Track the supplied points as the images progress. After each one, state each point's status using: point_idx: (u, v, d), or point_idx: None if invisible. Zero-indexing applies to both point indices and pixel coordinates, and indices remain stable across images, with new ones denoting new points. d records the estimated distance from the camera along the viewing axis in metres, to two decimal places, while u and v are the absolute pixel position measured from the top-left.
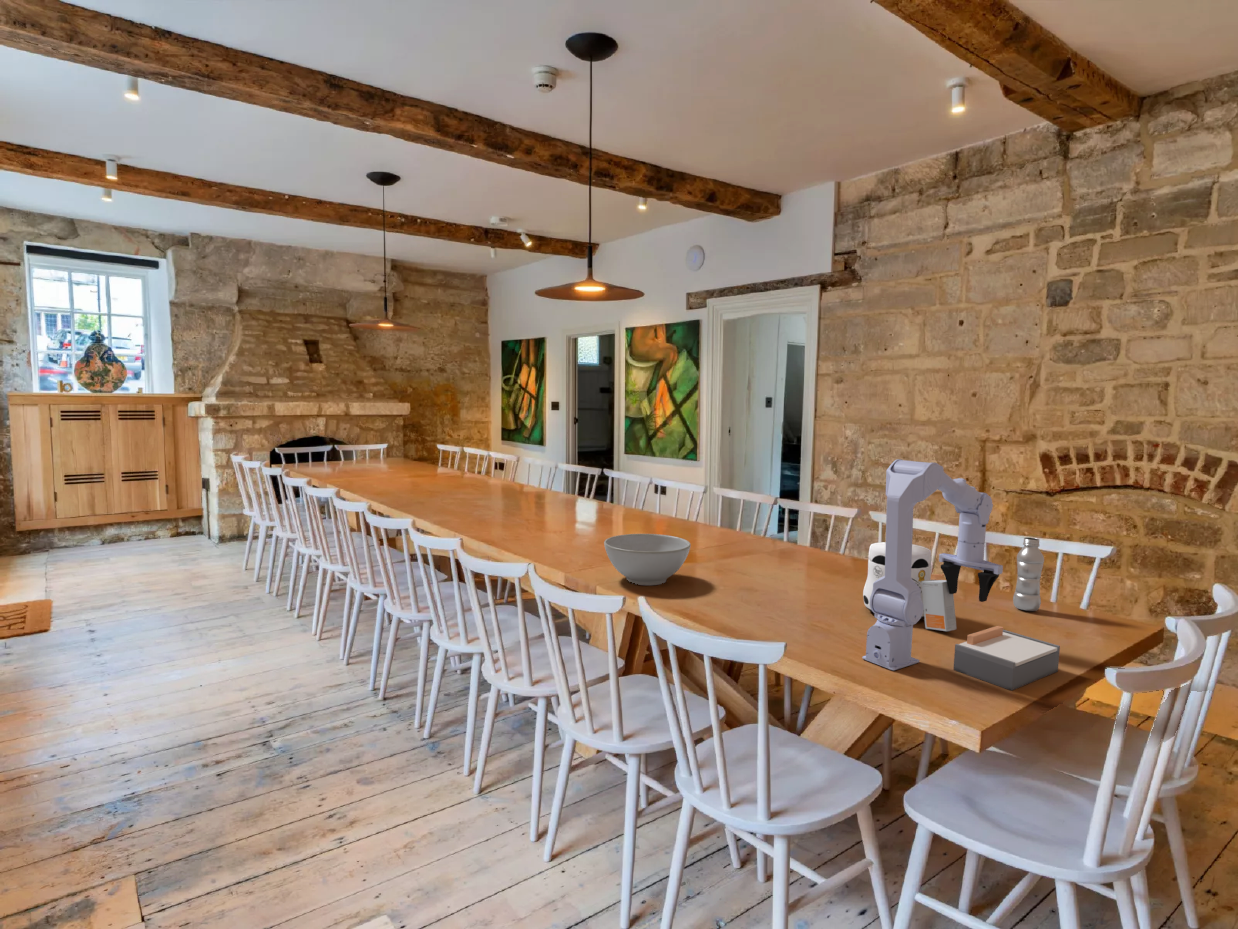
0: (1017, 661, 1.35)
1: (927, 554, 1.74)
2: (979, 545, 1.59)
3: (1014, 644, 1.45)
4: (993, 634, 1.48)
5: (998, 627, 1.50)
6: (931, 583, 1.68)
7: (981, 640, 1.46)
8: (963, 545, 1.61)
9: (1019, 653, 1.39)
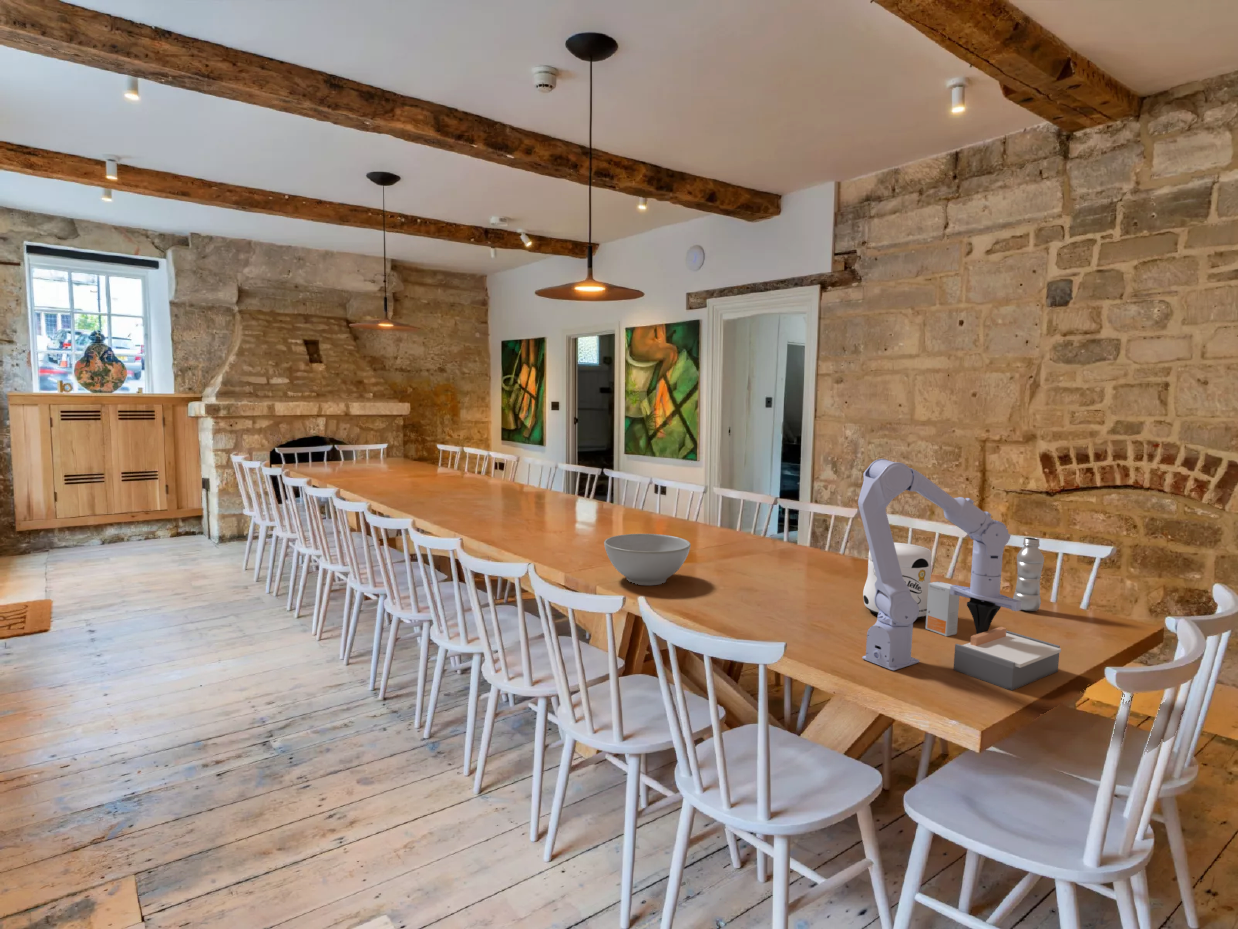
0: (1021, 662, 1.35)
1: (927, 554, 1.75)
2: (995, 578, 1.44)
3: (1018, 645, 1.44)
4: (996, 635, 1.48)
5: (1001, 628, 1.50)
6: (938, 587, 1.66)
7: (984, 641, 1.45)
8: (977, 578, 1.46)
9: (1023, 655, 1.39)
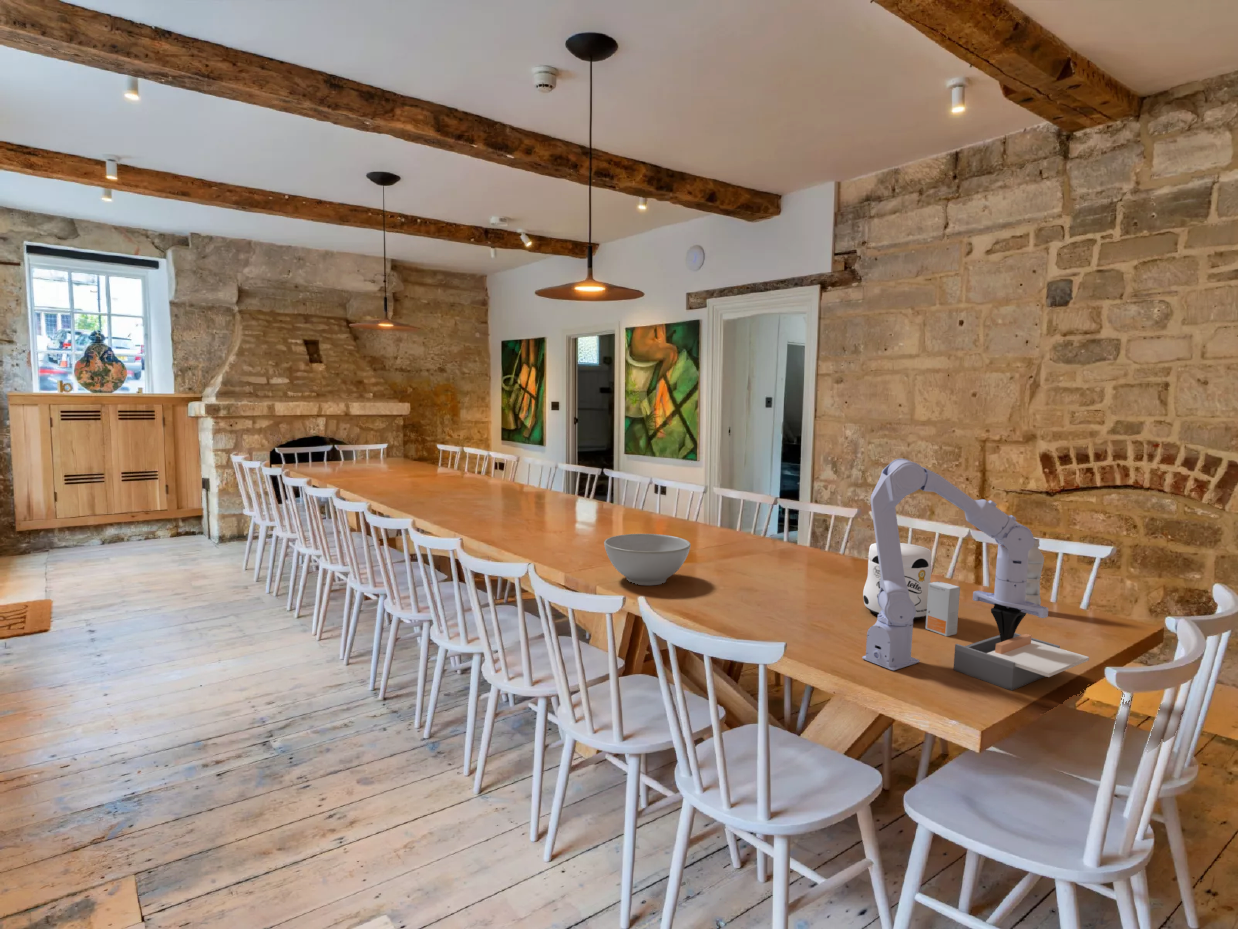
0: (1049, 671, 1.30)
1: (927, 554, 1.75)
2: (1021, 584, 1.40)
3: (1044, 653, 1.40)
4: (1021, 643, 1.43)
5: (1026, 635, 1.45)
6: (938, 587, 1.66)
7: (1010, 649, 1.41)
8: (1002, 583, 1.41)
9: (1050, 663, 1.34)
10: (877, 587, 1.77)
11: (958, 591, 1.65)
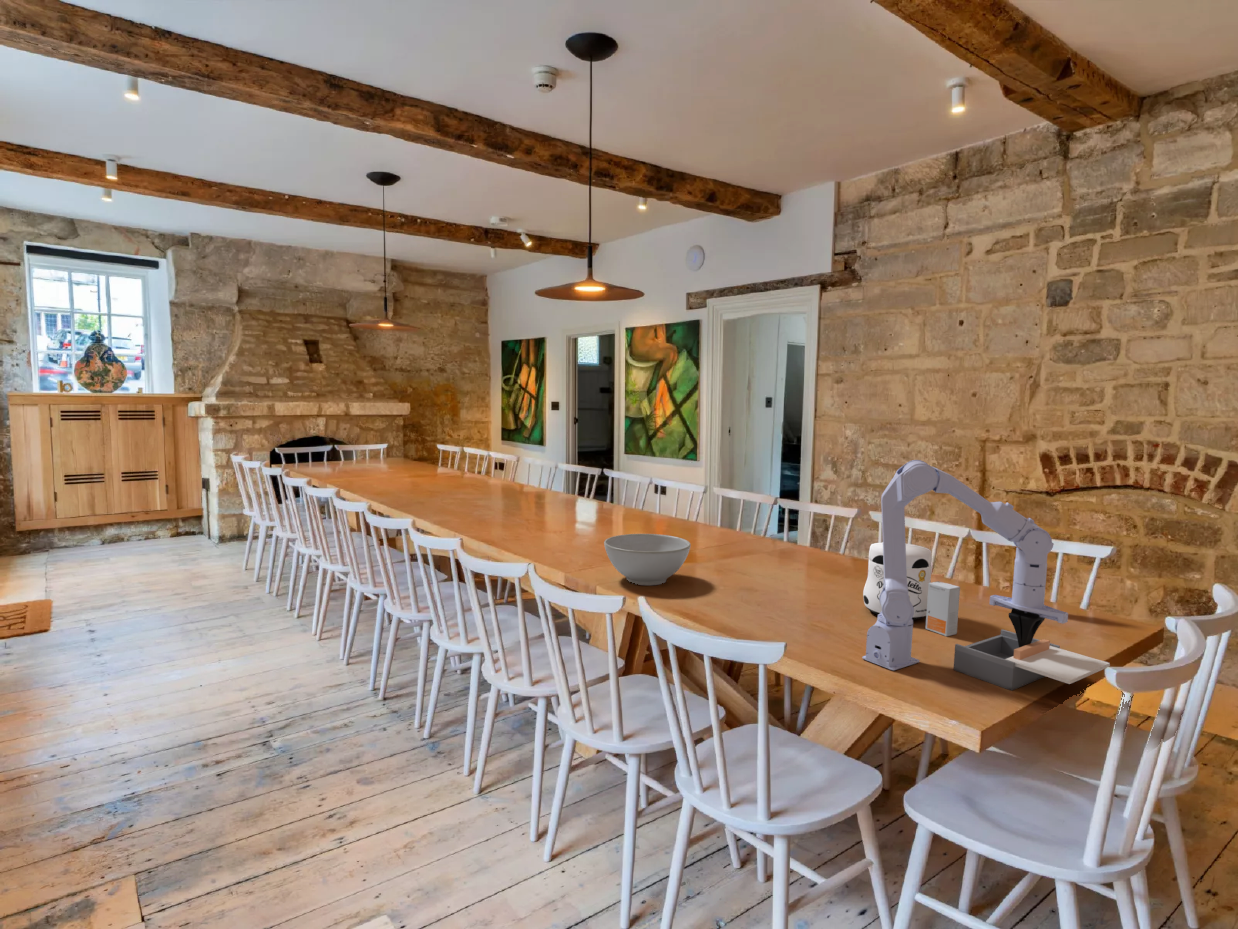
0: (1070, 678, 1.27)
1: (927, 554, 1.75)
2: (1039, 588, 1.37)
3: (1063, 659, 1.37)
4: (1040, 648, 1.40)
5: (1045, 640, 1.42)
6: (938, 587, 1.66)
7: (1028, 655, 1.38)
8: (1020, 588, 1.38)
9: (1071, 669, 1.31)
10: (878, 587, 1.77)
11: (958, 591, 1.65)
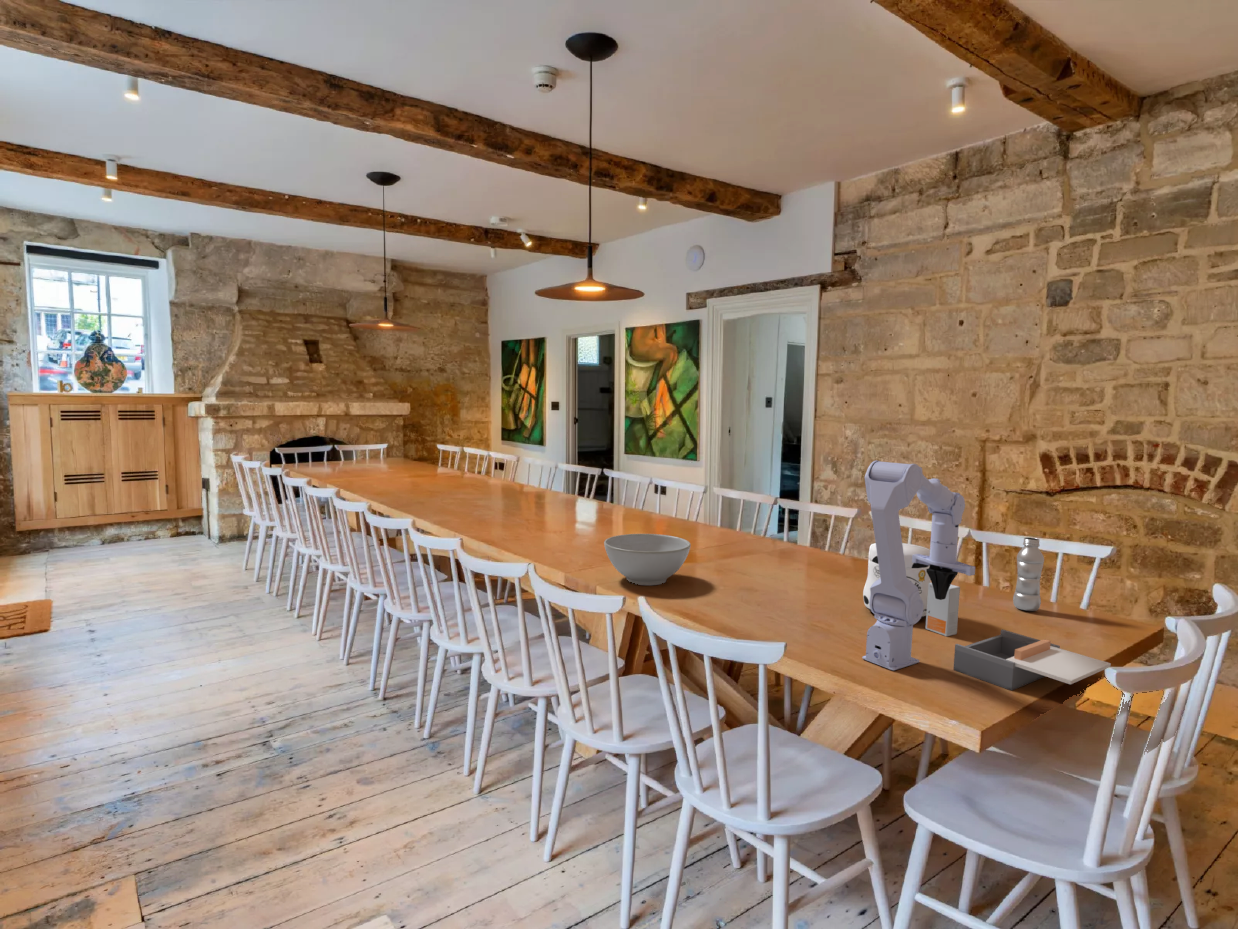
0: (1071, 678, 1.27)
1: (927, 554, 1.75)
2: (951, 546, 1.57)
3: (1064, 659, 1.37)
4: (1040, 649, 1.40)
5: (1045, 641, 1.42)
6: None
7: (1029, 655, 1.38)
8: (935, 546, 1.58)
9: (1072, 670, 1.31)
10: None
11: (958, 591, 1.65)
